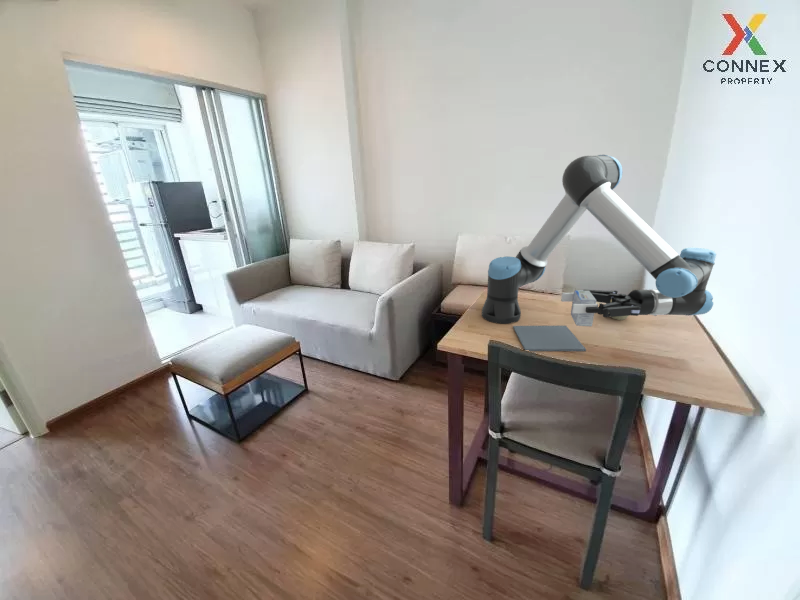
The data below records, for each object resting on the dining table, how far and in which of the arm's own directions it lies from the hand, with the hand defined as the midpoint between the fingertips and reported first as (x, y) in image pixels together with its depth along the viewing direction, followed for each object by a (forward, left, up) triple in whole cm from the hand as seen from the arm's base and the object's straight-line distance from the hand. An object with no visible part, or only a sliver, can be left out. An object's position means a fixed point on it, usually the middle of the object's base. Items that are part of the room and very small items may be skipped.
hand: (567, 302), depth 99 cm
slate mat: (-1, +10, -18) cm, 20 cm away
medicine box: (+5, 0, -6) cm, 8 cm away
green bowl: (+31, +27, -18) cm, 45 cm away
